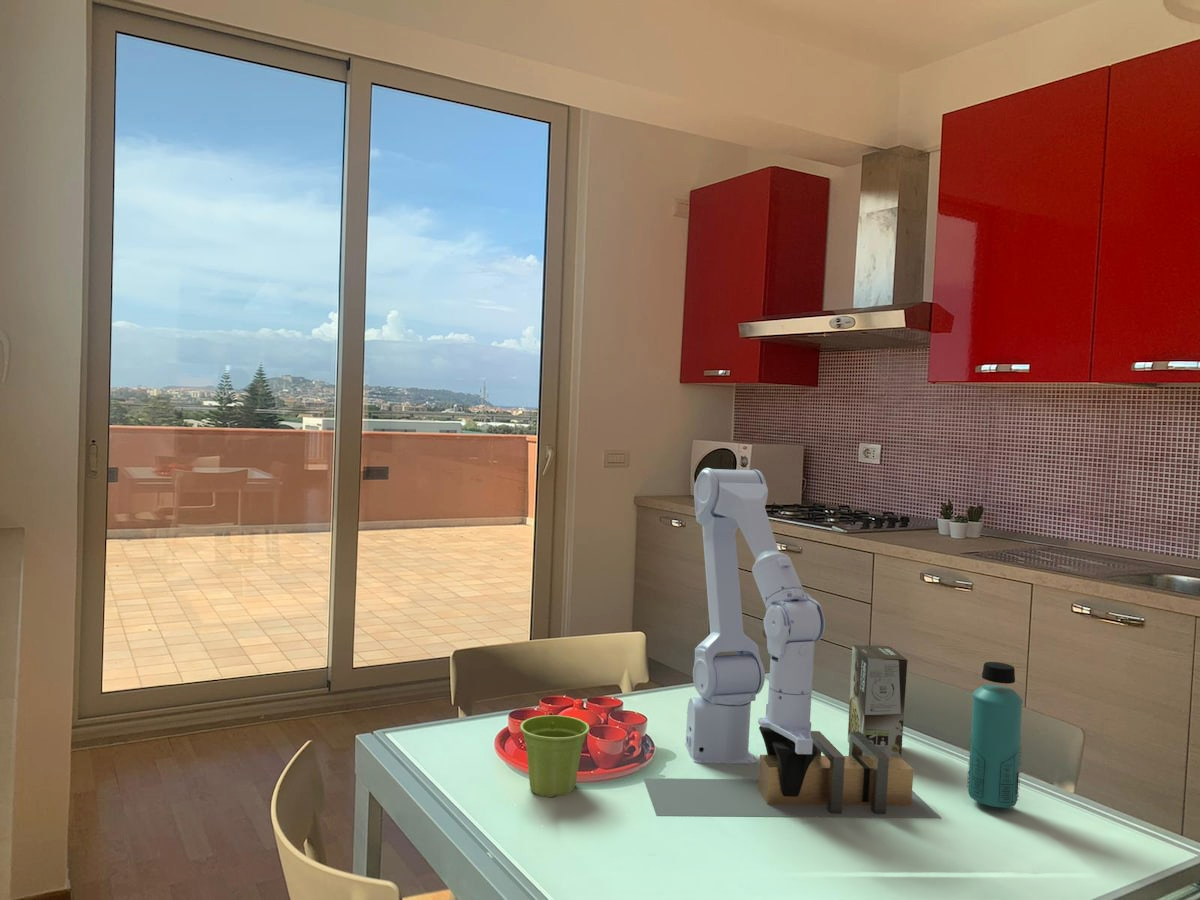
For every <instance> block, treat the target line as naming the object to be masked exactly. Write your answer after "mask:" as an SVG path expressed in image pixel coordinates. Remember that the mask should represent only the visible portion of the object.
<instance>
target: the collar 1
mask: <svg viewBox="0 0 1200 900" xmlns="http://www.w3.org/2000/svg"><path fill="white" fill-rule="evenodd" d="M811 738H812V739H813V745H814V746H815V747H816V748H817V755H816V756H822V754H823V756H826V757H827V758H828V759H829V760H830V773H829V790H828V807H827V810H828V811H829V812H830V814H842V799H843V782H844V764H845V757H844V756H845V755H843V753H841V751H840V750H838V749H837V747H835V745H834V744H833V743H831V742H830V740H829V739H828V738H827V737H826V736H825V735H824V734H823V733H822V732H821V731H820V730H811Z"/></svg>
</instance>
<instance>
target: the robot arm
mask: <svg viewBox="0 0 1200 900" xmlns="http://www.w3.org/2000/svg"><path fill="white" fill-rule="evenodd" d="M768 496H769V488H768V486H767V481H766V478H765V476H764V474H763V473H762V472H761V471H760V470H758V469H755V468H754V469H721V468H719V469H718V468H716V469H715V468H710V467H705V468H703V469H701V471H699V474H698V475H697V478H696V480H695V483H694V485H693V497H694V498H693V499H694V511H695V520H696V523H697V524H699V525H700V526H702V539H703V540H702V541H703V552H704V553H703V554H704V565H705V581H706V592H707V605H708V620H709V621H708V622H709V632H710V633H709V634H708V635H707V636H706V638H704V640H702V641H701V642H700V643H699V644H697V646H696V647H695V648H694V663H693V664H694V665H693V667H692V680H693V684H694V688H695V690H696V692H697V693H698V695H699V696H696V697H691V698H689V699H688V702H687V712H686V713H687V715H686V730H685V731H686V732H685V742H684V746H685V748H686V750H687V752H688V754H689V756H690V758H691V760H692V761H693V763H695V764H725V765H726V764H730V765H731V764H733V765H735V764H737V765H740V764H741V765H743V764H744V765H755V764H757V761H756V759H755V757H753V755H752V753H751V752H750V750H749V746H750V745H749V744H750V727H751V708H752V702H754V701H756V700H757V699H756V698H757V697H756V696H757V695H758V694H760V693H761V691H762V690H763V687H764V685H765V679H766V673H765V667H764V665H763V662H762V660H761V656H760V649H759V645H758V644H757V643H756V642H755V641H754V640H753V639H751V638H750V637H749V636H748V635H747V634H745V633H744V631H745V630H744V620H743V619H744V618H743V610H742V597H741V585H740V583H741V582H740V575H739V574H740V573H739V562H738V561H739V560H738V550H737V549H738V548H737V538H736V532H737V531H738V529H739V530H740V532H741V533H742V535H743V537H744V539H745V541H746V543H747V545H748V548H749V549H750V551H751V553H752V555H753V557H754V559H755V562H754V563H753V566H752V568H751V572H752V575H753V578H754V581H755V584H756V586H757V588H758V590H759V591H758V592H759V594H760V596H761V599H762V602H763V604H764V607H765V610H766V611H765V617H763V628H764V633H765V636H766V642H767V643H766V649H767V653H768V654H770V660H769V662H770V663H769V676H768V677H769V678H768V692H767V693H768V694H767V695H768V696H767V703H766V707H765V717H759V718H757V719H758V722H757V723H758V725H759V728H758V729H759V732H760V734H761V736H762V739H763V742H764V746H765V750H766V755H777V759H778V763H779V770H780V785H781V791H782V794H783V796H797V797H798V796H799V793H800V790H801V787H802V784H803V780H804V777H805V774H806V771H807V769H808V767H809V765H810V763H811V762H812V760H813V759H814V758H815V756H816V755H817V748H816V747H815V746H814V745H813V739H812V738H811V731H812V722H811V712H812V711H811V710H812V708H811V707H812V692H813V691H812V690H813V676H814V675H813V674H814V660H815V659H814V658H815V657H814V655H815V643H817V642H819V641H820V640H821V639H822V637H823V636H824V632H825V630H826V629H825V628H826V622H825V621H826V620H825V615H824V612H823V611H824V610H823V608H822V606H821V604H820V602H819V601H817V600H816V599H814V598H813V597H812V596H811V594H810V593H809V592H808V593H807V592H805V591H804V589H803V586H802V583H801V581H800V579H799V576H798V574H797V571H796V568H795V566H794V564H793V562H792V559H791V558H790V556H789V555H787V554H785V553H782V552H780V551H779V548H778V544H777V542H776V538H775V536H774V532H773V531H774V530H773V528H772V525H771V522H770V520H769V517H768V513H767V510H766V505H767V501H768ZM722 652H723V653H725V652H726V653H727V652H729V653H730V652H735V653H737V654H723V655H717V654H718V653H722Z"/></svg>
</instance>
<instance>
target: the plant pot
mask: <svg viewBox="0 0 1200 900" xmlns="http://www.w3.org/2000/svg"><path fill="white" fill-rule="evenodd" d="M519 729H520V731H521V732H522V734H523V740H524V742H525V746H526V747H525V748H526V757H527V768H528V780H529V788H530V789H531V791H532V793H534V794H536V795H539V796H543V797H547V798H549V797H550V798H552V797H554V796H563V795H568V794H569V793H572V792H574V790H575V789H576V784H577V776H578V771H579V766H580V760H581V753H582V749H583V744H584V742H585V740H586V736H587V734H588V733H589V731H590V726H589V724H588V723H587V722H585V721H583V720H582V719H580V718H577V717H572V716H568V715H561V714H559V715H558V714H557V715H556V714H555V715H553V714H552V715H551V714H547V715H539V716H533V717H530V718H527V719H525V720H523V721H522V722H521V723H520V727H519Z"/></svg>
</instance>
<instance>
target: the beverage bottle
mask: <svg viewBox="0 0 1200 900" xmlns="http://www.w3.org/2000/svg"><path fill="white" fill-rule="evenodd" d="M1015 674H1016V671H1015V667H1014V666H1013V665H1011V664H1008V663H1005V662H998V661H986V662H984V663H983V669H982V673H981V678H982V679H983V680H986V681H989V682H991V683H992V682H993V683H997V684H1006V685H1007V684H1014V683H1015V682H1016V677H1015V676H1016V675H1015ZM997 684H983V685H982V686H979V687H978V688H977V689H975V690H974V691H973V693H972V715H971V728H970V739H969V746H968V748H969V756H968V757H969V761H968V762H967V765H968V771H967V774H968V777H967V784H966V785H967V786H966V787H967V792H968V795H969V798H971V799H973V800H974V801H976V802H977V803H981V804H983V805H986V806H989V807H996V808H1011V807H1014V806H1016V805H1017V802H1018V799H1019V797H1020V796H1019V790H1020V787H1019V786H1020V783H1021V781H1020V780H1021V779H1020V774H1021V771H1020V767H1021V763H1022V762H1021V761H1022V760H1021V758H1022V751H1021V749H1022V748H1021V747H1022V743H1021V739H1022V734H1021V732H1022V711H1023V699H1022V698H1021V696H1020V695H1019V694H1018V692H1016V691H1015V690H1014V689H1013V688H1010V687H1007V686H1002V685H997Z"/></svg>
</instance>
